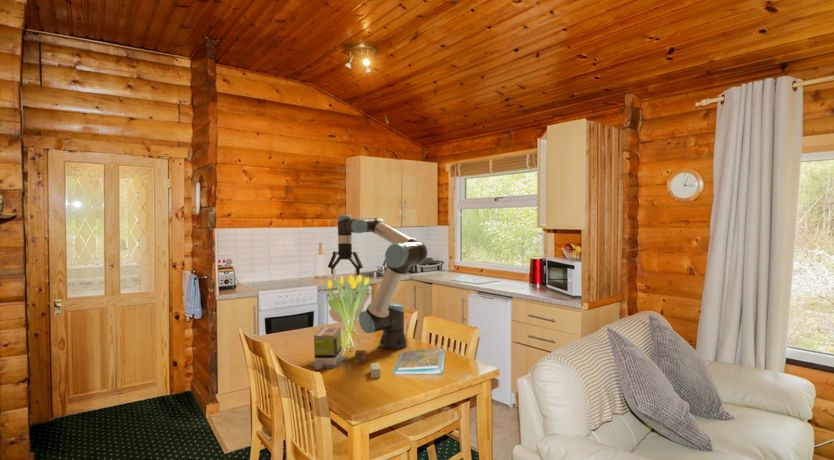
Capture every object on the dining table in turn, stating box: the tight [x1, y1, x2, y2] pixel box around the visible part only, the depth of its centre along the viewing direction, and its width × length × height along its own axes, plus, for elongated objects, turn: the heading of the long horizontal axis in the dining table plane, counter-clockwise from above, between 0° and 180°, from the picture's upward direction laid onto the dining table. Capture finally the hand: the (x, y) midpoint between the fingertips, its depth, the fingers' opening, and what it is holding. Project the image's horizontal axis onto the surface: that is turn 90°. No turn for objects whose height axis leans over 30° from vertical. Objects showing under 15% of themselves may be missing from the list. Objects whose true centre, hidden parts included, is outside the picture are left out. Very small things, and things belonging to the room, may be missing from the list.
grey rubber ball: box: [313, 361, 323, 370], centre depth 216 cm, size 4×4×4 cm
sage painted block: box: [369, 362, 381, 379], centre depth 210 cm, size 4×8×4 cm, turn 9°
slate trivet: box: [308, 355, 349, 370], centre depth 227 cm, size 13×16×1 cm
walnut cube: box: [354, 349, 368, 365], centre depth 227 cm, size 5×5×5 cm
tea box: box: [313, 326, 343, 365], centre depth 226 cm, size 15×10×15 cm
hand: (345, 280), depth 259 cm, fingers open, 13 cm apart
